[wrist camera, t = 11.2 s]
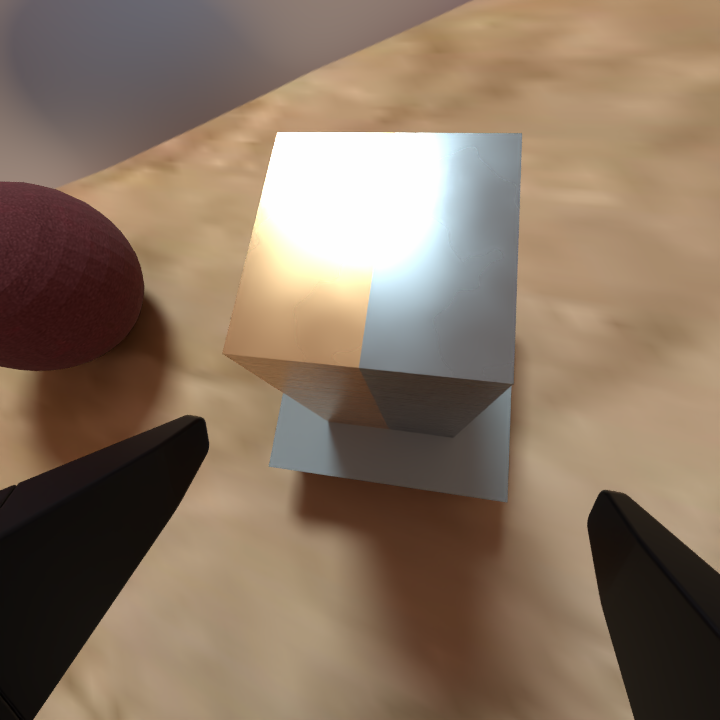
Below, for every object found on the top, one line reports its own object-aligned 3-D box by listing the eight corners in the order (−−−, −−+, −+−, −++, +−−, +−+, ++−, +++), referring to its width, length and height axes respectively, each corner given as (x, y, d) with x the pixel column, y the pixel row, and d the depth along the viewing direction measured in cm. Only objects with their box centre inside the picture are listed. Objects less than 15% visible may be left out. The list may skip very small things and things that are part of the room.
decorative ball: (174, 236, 27) (47, 109, 18) (181, 369, 24) (33, 300, 15) (44, 270, 28) (-146, 164, 18) (35, 403, 25) (-198, 358, 15)
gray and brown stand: (492, 498, 20) (507, 502, 17) (289, 467, 21) (268, 466, 18) (501, 302, 23) (514, 276, 20) (321, 290, 24) (308, 263, 21)
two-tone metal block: (453, 437, 18) (513, 384, 7) (328, 421, 19) (222, 353, 8) (462, 317, 19) (521, 133, 9) (346, 308, 20) (277, 132, 10)
